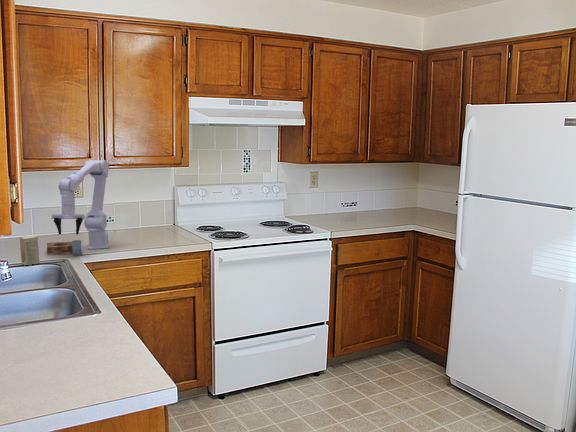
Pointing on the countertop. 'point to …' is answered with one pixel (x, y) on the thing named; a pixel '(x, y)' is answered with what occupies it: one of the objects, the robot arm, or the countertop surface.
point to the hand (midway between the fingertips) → (68, 234)
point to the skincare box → (29, 250)
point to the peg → (76, 248)
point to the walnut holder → (59, 248)
